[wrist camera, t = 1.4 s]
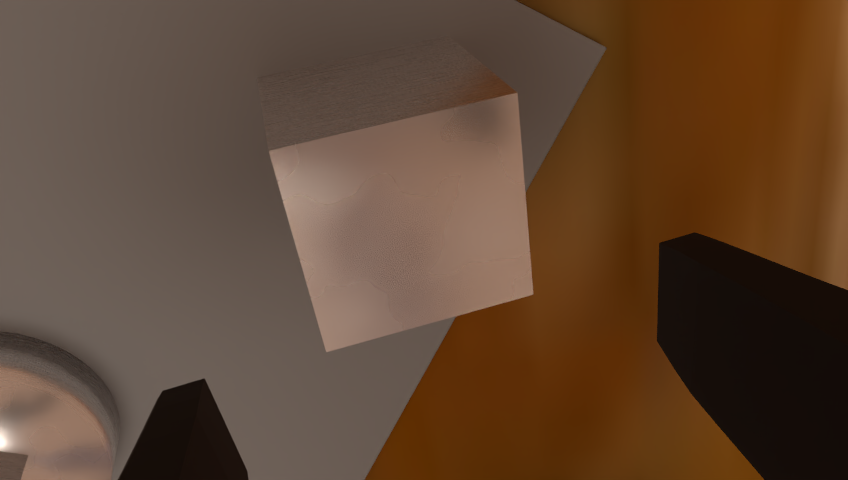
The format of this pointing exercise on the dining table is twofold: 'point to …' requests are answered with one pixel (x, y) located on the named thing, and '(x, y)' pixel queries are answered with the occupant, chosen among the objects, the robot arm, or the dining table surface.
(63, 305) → the mat
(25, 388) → the ratchet
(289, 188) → the pale pink cube
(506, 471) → the dining table surface
